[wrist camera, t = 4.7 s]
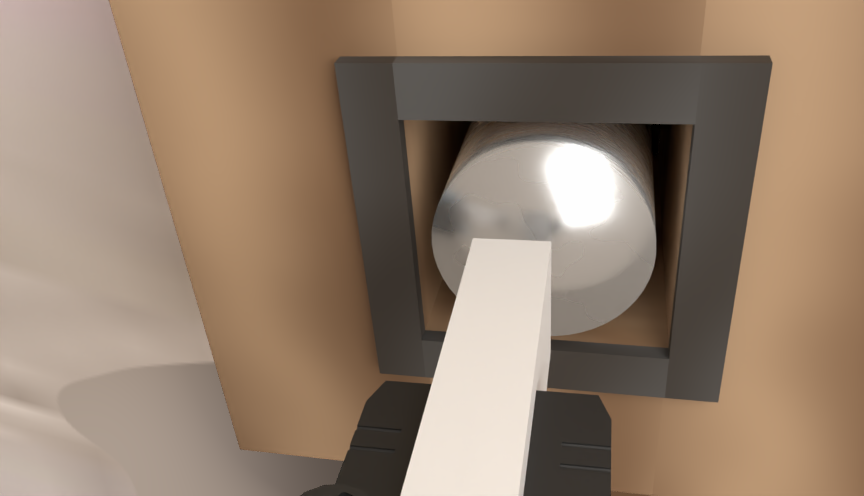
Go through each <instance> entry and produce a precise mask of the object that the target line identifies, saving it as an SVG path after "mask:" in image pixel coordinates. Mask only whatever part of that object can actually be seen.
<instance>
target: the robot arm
mask: <svg viewBox="0 0 864 496" xmlns="http://www.w3.org/2000/svg"><path fill="white" fill-rule="evenodd" d="M550 353H551V241H532V240H506V239H481V238H473V240H472V243H471V247H470V251H469V254H468V258H467V261H466V265H465V268H464V272H463V275H462V279H461V282H460V286H459V290H458V293H457V297H456V300H455V304H454V307H453V311H452V314H451V318H450V321H449V325H448V328H447V332H446V336H445V339H444V343H443V346H442V350H441V353H440V357H439V360H438V364H437V367H436V371H435V375H434V378H433V382H432V384H424V383H412V382H399V381H385V382H384V383H383V384H382V385H381V386H380V387H379V388H378V389H377V390H376V391H375V392H374V393H373V394H372V395H371V396H370V397H369V399H368V400H367V401H366V403H365V405H364V408H363V411H362V413H361V416H360V419H359V422H358V424H357V430H355V432H354V435H353V438H352V440H351V443H350V449H349V450H348V451H347V454H346V456H345V459H344V462H343V465H342V467H341V470H340V473H339V475H338V478H337V481H336V484H335V485H323V486H320V487H318V488H315V489H312V490H309V491H307V492H305V493H303V494H302V495H301V496H611V428H612V419H611V417H610V416H609V414H608V412H607V410H606V408H605V406H604V404H603V403H602V401H601V399H600V397H599V395H590V394H577V393H564V392H552V391H547V381H548V372H549V363H550Z"/></svg>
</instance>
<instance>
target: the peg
mask: <svg viewBox="0 0 864 496" xmlns="http://www.w3.org/2000/svg"><path fill="white" fill-rule="evenodd" d="M473 238H481V239H506V240H532V241H551V336H562V335H571V334H576V333H581V332H584V331H588V330H591V329H594V328H597V327H599V326H601V325H603V324H606V323H608V322H609V321H611V320H613V319H614V318H616V317H618V316H619V315H620V314H622V313H623V312H624V311H626V310H627V309H628V308H629V307H630V306H631V305H632V304H633V303H634V302H635V301H636V300H637V299H638V297H639V296H640V295H641V293H642V292H643V290H644V289H645V287H646V285H647V283H648V281H649V279H650V277H651V274H652V271H653V268H654V264H655V258H656V225H655V202H654V179H653V157H652V134H651V124H630V123H565V122H501V121H472V122H471V124H470V127H469V129H468V132H467V134H466V137H465V139H464V142H463V144H462V147H461V149H460V152H459V154H458V157H457V159H456V161H455V164H454V166H453V169H452V171H451V174H450V176H449V179H448V181H447V184H446V186H445V189H444V191H443V194H442V196H441V199H440V201H439V204H438V206H437V209H436V212H435V215H434V219H433V225H432V248H433V254H434V258H435V261H436V264H437V267H438V269H439V271H440V273H441V275H442V277H443V279H444V281H445V282H446V284H447V285H448V287H449V288H450V290H451V291H452V292H453V293H454V294H455V295H456V297H457V293H458V290H459V286H460V282H461V279H462V275H463V272H464V268H465V265H466V261H467V258H468V254H469V251H470V247H471V243H472V240H473Z"/></svg>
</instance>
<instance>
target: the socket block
mask: <svg viewBox="0 0 864 496" xmlns="http://www.w3.org/2000/svg"><path fill="white" fill-rule="evenodd" d="M109 2H110V6H111V9H112V13H113V16H114V20H115V23H116V26H117V30H118V33H119V37H120V40H121V44H122V47H123V50H124V54H125V57H126V61H127V64H128V67H129V71H130V74H131V78H132V81H133V85H134V88H135V91H136V95H137V98H138V102H139V105H140V109H141V112H142V115H143V119H144V122H145V126H146V129H147V132H148V136H149V139H150V143H151V146H152V150H153V153H154V156H155V160H156V163H157V167H158V170H159V174H160V177H161V180H162V184H163V187H164V191H165V194H166V197H167V201H168V204H169V208H170V211H171V215H172V218H173V221H174V225H175V228H176V232H177V235H178V239H179V242H180V245H181V249H182V252H183V256H184V259H185V262H186V266H187V269H188V273H189V276H190V280H191V283H192V286H193V290H194V293H195V297H196V300H197V304H198V307H199V310H200V314H201V317H202V321H203V324H204V327H205V331H206V334H207V338H208V341H209V345H210V348H211V351H212V355H213V358H214V362H215V365H216V369H217V372H218V375H219V379H220V382H221V386H222V389H223V392H224V396H225V399H226V403H227V406H228V409H229V413H230V416H231V420H232V423H233V426H234V430H235V433H236V437H237V440H238V444H239V447H240V449H243V450H251V451H261V452H269V453H278V454H287V455H296V456H305V457H314V458H323V459H332V460H340V461H344V459H345V456H346V454H347V451H348V450H349V449H350V443H351V440H352V438H353V435H354V432H355V430H357V424H358V422H359V419H360V416H361V413H362V411H363V408H364V405H365V403H366V401H367V400H368V399H369V397H370V396H371V395H372V394H373V393H374V392H375V391H376V390H377V389H378V388H379V387H380V386H381V385H382V384H383V383H384V382H385V381H399V382H412V383H424V384H432V382H433V378H434V375H435V371H436V367H437V364H438V360H439V357H440V353H441V350H442V346H443V343H444V339H445V336H446V332H447V328H448V325H449V321H450V318H451V314H452V311H453V307H454V304H455V300H456V295H455V294H454V293H453V292H452V291H451V290H450V288H449V287H448V285H447V284H446V282H445V281H444V279H443V277H442V275H441V273H440V271H439V269H438V267H437V264H436V261H435V258H434V254H433V248H432V225H433V219H434V215H435V212H436V209H437V206H438V204H439V201H440V199H441V196H442V194H443V191H444V189H445V186H446V184H447V181H448V179H449V176H450V174H451V171H452V169H453V166H454V164H455V161H456V159H457V157H458V154H459V152H460V149H461V147H462V144H463V142H464V139H465V137H466V134H467V132H468V129H469V127H470V124H471V122H472V121H501V122H565V123H630V124H660V134H659V146H658V156H652V157H653V179H654V202H655V225H656V258H655V264H654V268H653V271H652V274H651V277H650V279H649V281H648V283H647V285H646V287H645V289H644V290H643V292H642V293H641V295H640V296H639V297H638V299H637V300H636V301H635V302H634V303H633V304H632V305H631V306H630V307H629V308H628V309H627V310H626V311H624V312H623V313H622V314H620V315H619V316H618V317H616V318H614V319H613V320H611V321H609V322H608V323H606V324H603V325H601V326H599V327H597V328H594V329H591V330H588V331H584V332H581V333H576V334H571V335H562V336H551V353H550V363H549V372H548V381H547V391H552V392H564V393H577V394H590V395H599V397H600V399H601V401H602V403H603V404H604V406H605V408H606V410H607V412H608V414H609V416H610V417H611V419H612V428H611V491H617V492H626V493H634V494H644V495H653V496H864V0H109Z"/></svg>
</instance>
